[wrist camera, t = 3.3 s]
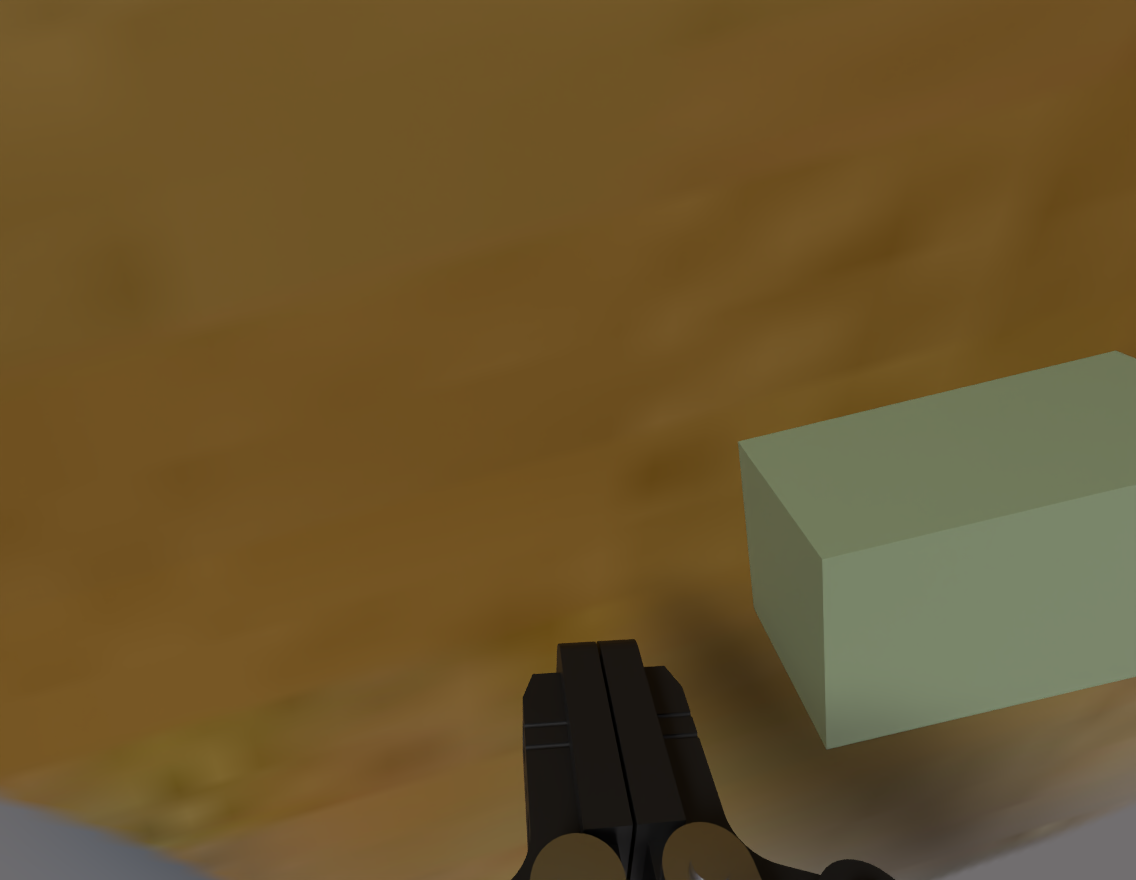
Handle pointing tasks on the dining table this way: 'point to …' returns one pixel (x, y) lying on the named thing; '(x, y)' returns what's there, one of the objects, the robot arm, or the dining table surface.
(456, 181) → the dining table surface
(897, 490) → the pale green block
